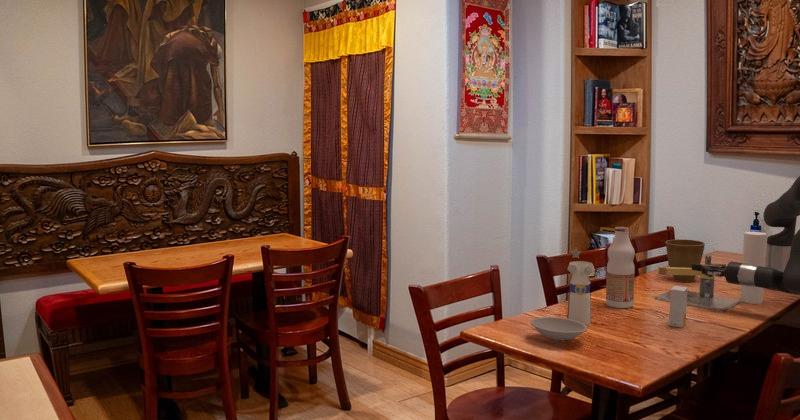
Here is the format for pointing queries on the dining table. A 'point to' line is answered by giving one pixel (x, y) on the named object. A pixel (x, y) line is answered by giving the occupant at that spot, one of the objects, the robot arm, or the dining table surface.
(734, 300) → the square base plate stand
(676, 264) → the plant pot
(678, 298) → the skincare box
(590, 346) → the dining table surface
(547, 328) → the dish
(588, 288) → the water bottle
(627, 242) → the fruit juice
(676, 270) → the lever handle
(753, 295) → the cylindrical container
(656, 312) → the dining table surface
